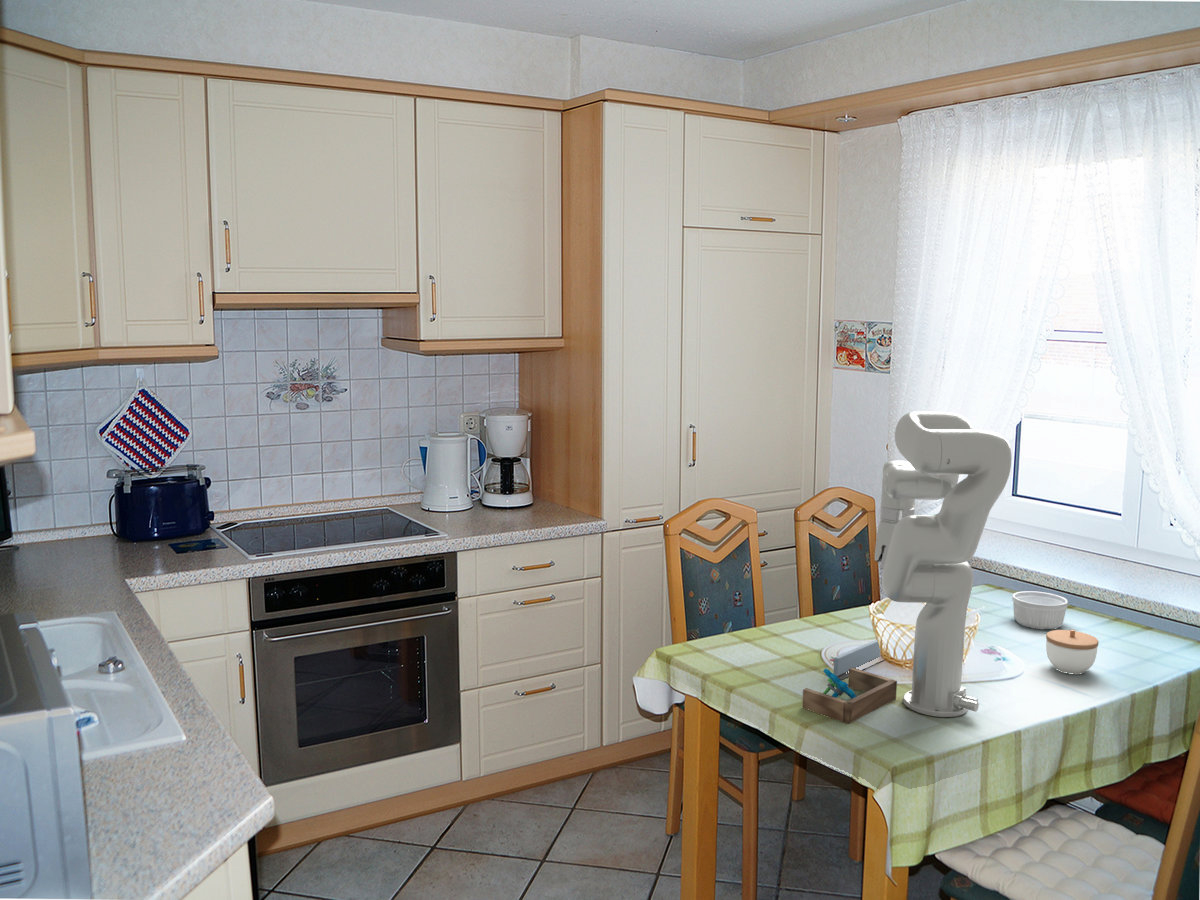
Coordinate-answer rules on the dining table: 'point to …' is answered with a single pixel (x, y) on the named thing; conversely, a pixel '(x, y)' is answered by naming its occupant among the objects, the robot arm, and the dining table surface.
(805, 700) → the frame
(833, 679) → the blue toy model
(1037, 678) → the dining table surface
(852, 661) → the gate
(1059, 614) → the ramekin
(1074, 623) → the dining table surface
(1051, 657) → the lidded jar
